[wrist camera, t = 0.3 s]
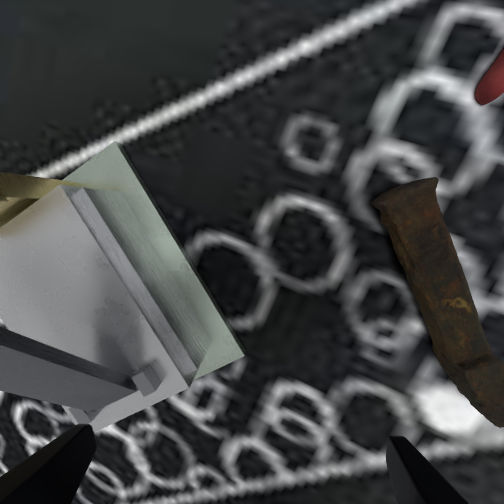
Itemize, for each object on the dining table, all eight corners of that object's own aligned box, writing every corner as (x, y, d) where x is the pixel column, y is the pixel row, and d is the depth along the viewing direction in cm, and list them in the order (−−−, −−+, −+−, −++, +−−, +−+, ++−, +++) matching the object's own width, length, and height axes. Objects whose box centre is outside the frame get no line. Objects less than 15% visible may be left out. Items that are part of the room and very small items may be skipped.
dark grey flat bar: (141, 380, 18) (139, 392, 17) (99, 401, 19) (97, 413, 18) (-153, 268, 9) (-177, 284, 8) (-210, 316, 10) (-237, 334, 9)
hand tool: (362, 198, 20) (385, 195, 15) (414, 177, 19) (455, 168, 15) (431, 402, 22) (470, 453, 17) (481, 391, 21) (535, 440, 17)
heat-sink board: (245, 350, 23) (223, 439, 14) (120, 410, 26) (35, 516, 17) (120, 144, 21) (5, 96, 12) (0, 232, 24) (-166, 244, 15)
